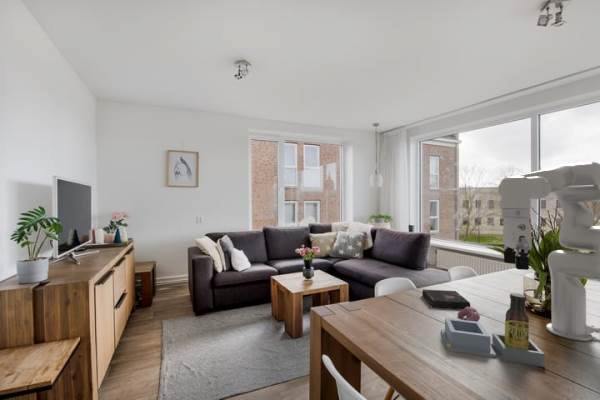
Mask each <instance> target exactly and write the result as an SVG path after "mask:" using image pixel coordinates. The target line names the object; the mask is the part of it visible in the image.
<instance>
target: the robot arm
mask: <svg viewBox="0 0 600 400" xmlns="http://www.w3.org/2000/svg"><path fill="white" fill-rule="evenodd" d="M497 190H498V195H499V196H500V199H501V202H500V203H501V205H500V207H501V209H500V212H501V214H500V216H501V219H503V225H502V226H503V227H502V242H503V243H502V244H503V263H506V264H515V269H517V270H525V271H529V268H530V267H529V265H530V263H529V262H530V252H531V251H530V250H532V248H533V243H532V229H531V222H530V219H531V200H541V199H545V198H546V197H548V196H549V195H550V194H551V193H553V192H554V193H555V196H556V197H557V200H558V203H559V204H560V206H561V209H562V211H563V215H562V221H561V225H560V228H559V229H560V230H559V234H558V243H559V244H560V245H559V246H561V247H563V248H567V249H571V250H567V249H557V250H553V251H551V252H550V253H549V254H548V255H547V265H548V270H549V274H550V275H549V276H550V282H551V283H550V285H551V286H550V287H551V288H550V292H551V296H550V298H551V309H550V310H551V322H549V323H547V324H546V330H548V331H549V332H550V333H551V334H554V335H557V336H559V337H562V338H565V339H569V340H572V341H573V340H574V341H580V342H589V341H592V340H593V335H592V334H593V333H596V334H600V327H598V326H597V327H595V326H594V325H593V324H587V291H586V287H585V286H584V284H583V283H582V281H581V280H580V279H583V280H584V279H585V280H587V281H588V280H589V281H596V282H600V225H599V226H598V225H597V226H596V225H593V224H594V219H595V215H594V213H593V212H592V210H590V208H588V207H587V206H586V205H585V204H584V203H582V202H585V203H586V202H588V203H591V202H593V203H594V202H595V203H596V202H599V203H600V163H599V162H596V161H584V162H577V163H576V162H575V163H565V164H559V165H557V166H553V167H550V168H547V169H542V170H537V171H533V172H529V173H524V174H518V175H513V176H509V177H507V176H506V177H504V178H503V179H502V180H501V182H500V183H499V185H498V188H497ZM573 250H579V251H573ZM582 251H586V252H582ZM587 251H588V252H587ZM589 252H594V253H589Z"/></svg>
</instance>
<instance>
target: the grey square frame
mask: <svg viewBox="0 0 600 400" xmlns="http://www.w3.org/2000/svg"><path fill="white" fill-rule="evenodd" d="M491 335H492V340H491V341H492V346H493V347H494V349H495V350H496V352H497V353H498V355H499V356H500V357H501V359H502V361H503V362H504V361H505V362H510V363H516V364H522V365H530V366H536V367H542V368H546V354H545V353H544V352H543V351H542V349H540V348H539V346H537V344H535V342H534V341H533V340H532V339H531V338H529V347H528V350H523V349H516V348H509V347H506V346H505V333H504V334H502V333H495V332H492V334H491Z"/></svg>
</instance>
